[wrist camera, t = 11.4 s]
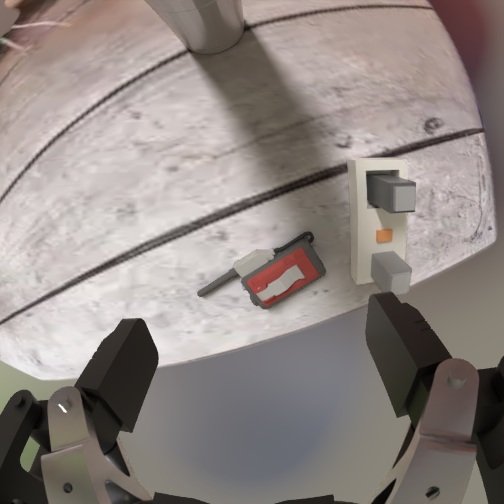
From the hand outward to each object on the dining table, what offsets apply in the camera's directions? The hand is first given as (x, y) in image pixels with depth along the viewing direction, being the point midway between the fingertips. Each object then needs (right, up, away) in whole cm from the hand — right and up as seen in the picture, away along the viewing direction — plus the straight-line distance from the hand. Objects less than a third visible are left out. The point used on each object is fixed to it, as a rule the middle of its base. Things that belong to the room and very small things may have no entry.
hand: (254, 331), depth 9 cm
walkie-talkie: (+1, -1, +33) cm, 33 cm away
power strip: (+18, +8, +29) cm, 35 cm away
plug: (+18, +12, +26) cm, 34 cm away
